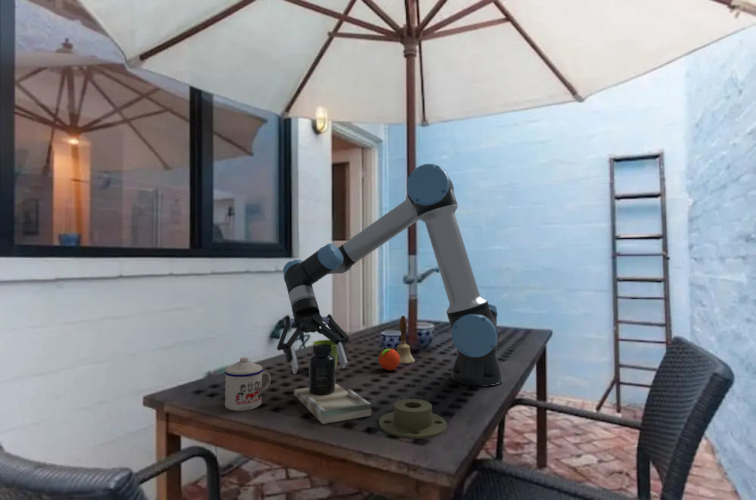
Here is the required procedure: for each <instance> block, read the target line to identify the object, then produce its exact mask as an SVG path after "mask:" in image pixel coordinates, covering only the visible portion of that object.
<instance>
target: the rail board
mask: <svg viewBox="0 0 756 500" xmlns="http://www.w3.org/2000/svg"><path fill="white" fill-rule="evenodd" d="M293 394H294V396H295V397H296V398H297V400H298V401H300V403H302V404H303V406H304V407H306V409H307V410H309V412H310V413H311V414H312V415H313V416H314V417H315V418H316V419H317V420H318V421H319V422H320V423H321V424H323V425H324V424H330V423H335V422H341V421H347V420H355V419H359V418H364V417H369V416H370V417H371V416H372V403H371V402H369V401H368V400H367V399H365V398H363V397H362V396H360V395H359V394H358V393H356V392H355V391H353V389H350V388H349V389H347V390H346V389H344V388H343V387H342V386H340V384H337V383H335V391H334V392H333V393H331V394H327V395H315V394H312V393H310V391H309V386H308V387H303V388H302V387H301V388H296V389H295V388H294V393H293Z"/></svg>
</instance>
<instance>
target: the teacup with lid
mask: <svg viewBox="0 0 756 500" xmlns="http://www.w3.org/2000/svg"><path fill="white" fill-rule="evenodd" d="M224 375H225V388H224V389H225V390H224V391H225V392H224V393H225V395H224V402H225V403H224V406H225V408H226V409H227V410H230V411H237V412H238V411H240V412H241V411H249V410H250V411H251V410H254V409H256V408H258V407H260V406H261V405H262V404H263V403H262V399H263V398H262V396H263V395H262V394H263V392H264V391H266V390H267V389H268V387H269V385H270V384H271V379H272V376H271V373H270V372H268V371H265V370H264V368H263V366H262V365H260V364H259V363H254V362H253V361H251V360H250V361H249V357H247V356H244V357H240V359H239V361H237V362H236V363H234V364H231V365H230V366H228V367H226V368H225V371H224ZM263 375H266V381H265V383H264V385H263Z"/></svg>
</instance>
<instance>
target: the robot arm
mask: <svg viewBox="0 0 756 500" xmlns="http://www.w3.org/2000/svg"><path fill="white" fill-rule="evenodd" d="M454 189H455V187H454V184H453V182H452V180H451V179H450V177H449V174H448V172H447V171H446V170H445V168H443V167H441V166H439V165H437V164H435V163H434V164H433V163H424V164H420V165H419V166H417V167H416V168H414V169H413V170H412V171H411V173H410V174H409V176H408V178H407V181H406V191H407V195H406V197H405V199H404V201H402V202H401V203H399V204H398V205H396V206H395V207H394V208H393V209H391V210H389V211H388V212H387V213H386V214H383V215H382V216H381V217H379V218H378V219H376V220H375V221H374V222H372V223H371V224H370V225H368V226H366V227H365V228H364V229H362V230H361V231H359V232H358V233H356V234H355V235H354V236H353V237H351V238H350V239H348V240H346V241H345V242H344V243H343V244H341V245H340V246H339V247H337V245H336V244H333V243H327V244H325V245H324V246H322V247H320V248H319V249H318V250H317V251H315V252H314V253H313V254H311V255H310V256H309V257H307V258H305V259H304V260H303V259H294V260H290V261H288V262H286V264H285V265H284V266H283V269H282V270H283V271H282V272H283V273H282V274H283V280H284V283H285V287H286V290H287V293H288V294H287V295H288V299H289V303H290V307H291V311H292V315H293V318H291V317H290V316H288V315H287V316H285V318H284V321H283V330H282V333H281V336H280V338H279V340H278V341H279V342H278V343H277V347H276V350H277V351H283V353H284V354H285V359H286V361H287V362H290V365H291V369H292V373H293V375H295V374H297V373H298V370H299V365H298V360H297V354H296V352H295V347H294V346H293V345H294V343H295V342H296V341H297V339H298V338H299V337H300V335H301V334H302V332H303V333H304V334H308V333H318V334H319V335H323V336H324V337H325V338H326V339H327V340H331V341H332V342H333V343H335V344H336V345H337V347H336V349H337V353H338V359H339V362H340V365H341V369H345V368H346V366H347V364H348V359H347V356H346V355H347V353H348V349H347V347H346V345H348V342H349V341H350V336H349V335H348V334H347V333H346V332H345V331H344V330H343V328H341V326H340V325H339V324H338V323H337V322H336V321H335V320H334V319H333V315H332V314H330V313H329V314H327V316H322V315H321V313H320V308H319V305H318V302H317V299H316V298H317V297H316V294H315V292H314V287H313V285H314V284H315V283H316V282H318V281H320V280H321V279H323V278H324V277H325V276H327V275H331V274H344V273H346V272H348V271H349V270H350V269H351V268H352V266H354V265H355V264H357V263H358V262H359V261H360V260H362V259H363V258H365V257H367V256H368V255H370V254H371V253H372V252H374V251H375V250H377V249H378V248H380V247H381V246H383V245H384V244H386V243H387V242H389V241H390V240H392V239H393V238H395V237H396V236H397V235H399V234H400V233H402V232H403V231H406V229H407V228H409V227H411V226H412V225H414V224H415V223H417V222H418V221H422V222H423V223H425V227H426V230H427V233H428V237H429V240H430V243H431V247H432V250H433V254H434V256H435V259H436V263H437V268H438V270H439V273H440V276H441V279H442V280H441V281H442V283H443V286H444V290H445V292H446V296H447V299H448V303H449V305H448V308H447V310H446V315H447V316H446V317H447V318H448V319H447V320H448V323H449V326H450V328H451V330H450V331H451V332H450V334H451V336H450V337H451V341H452V343H453V345H454V347H455V349H457V353H456V355H455V360H454V362H453V365H452V368H451V370H450V371H451V375H450V377H451V380H452V381H454V382H456V383H459V384H462V383H463V384H462V385H466V384H469V385H468V386H472V385H491V384H496V383H498V382H501V381H502V382H503V372H502V368H501V364H500V363H499V362H500V361H499V360H498V356H497V348H498V347H497V343H498V338H499V337H498V330H497V328H498V327H497V322H498V321H497V319H498V318H497V317H498V309H497V306H496V305H495V304H492V303H489V301H488V300H487V299H485V298H483V297H482V296H481V294H480V291H479V289H478V286H477V282H476V279H475V278H476V277H475V276H474V275H475V274H474V272H473V269H472V266H471V261H470V259H469V257H468V252H467V249H466V246H465V244H464V240H463V238H462V234H461V230H460V227H459V223H458V220H457V218H456V211H457V209H458V207H459V206H458V201H457V197H456V195H455V190H454ZM292 325H294V326H295V327H296V329H295V331H294V332H293V333H292V335H291V336H290V337H289V339H288V340H287V341H286V342H285V340H286V338H287V334H288V332H289V329H290V327H292Z"/></svg>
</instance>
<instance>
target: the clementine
mask: <svg viewBox="0 0 756 500" xmlns="http://www.w3.org/2000/svg"><path fill="white" fill-rule="evenodd" d="M378 362H379V365H380V367H381V368H382V369H384V370H385V371H393V370H396V369H397V368H398V367H399V365H400V356H399V354H398V353H397V350H395V349H394V348H391V347H388V348H385V349H383V350H382V351H381V352H380V353H379V356H378Z"/></svg>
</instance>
